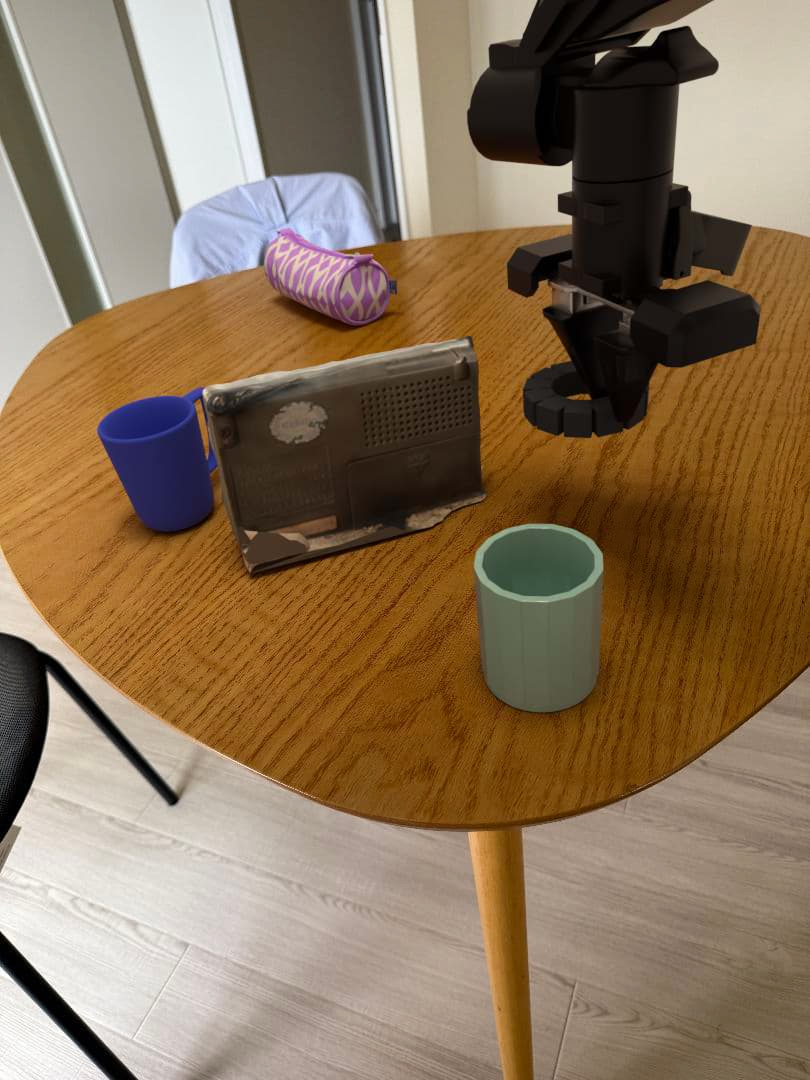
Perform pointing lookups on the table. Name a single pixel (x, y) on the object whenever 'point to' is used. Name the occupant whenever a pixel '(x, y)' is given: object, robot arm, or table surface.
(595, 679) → the cup
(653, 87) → the robot arm
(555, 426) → the ring
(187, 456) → the mug
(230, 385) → the radio
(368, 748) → the table surface
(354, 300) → the pencil case
